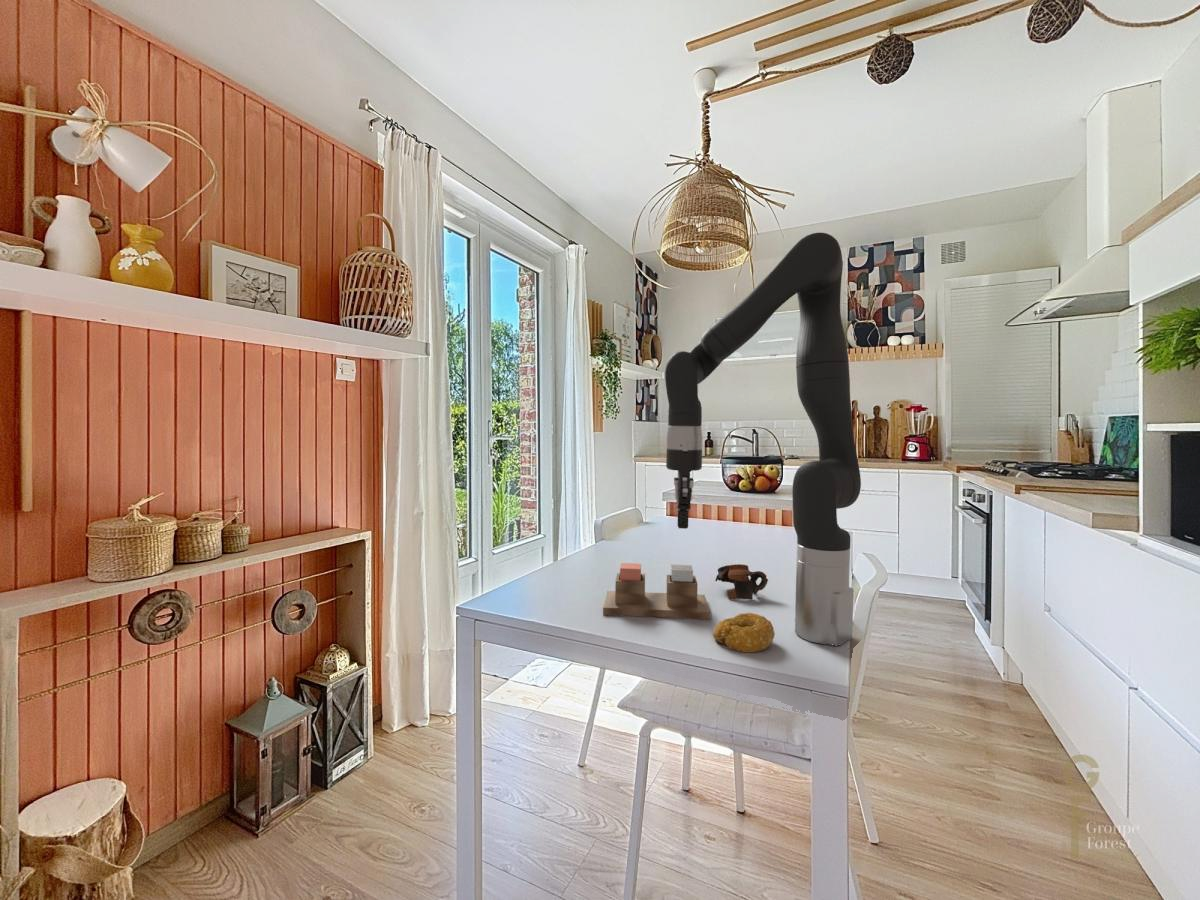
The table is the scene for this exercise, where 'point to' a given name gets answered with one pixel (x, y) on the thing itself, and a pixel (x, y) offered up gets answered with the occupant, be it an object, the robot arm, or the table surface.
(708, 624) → the table surface
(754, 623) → the bagel
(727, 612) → the table surface
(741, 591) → the pottery mug
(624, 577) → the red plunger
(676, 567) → the white block
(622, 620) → the table surface
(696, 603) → the wooden block stand
